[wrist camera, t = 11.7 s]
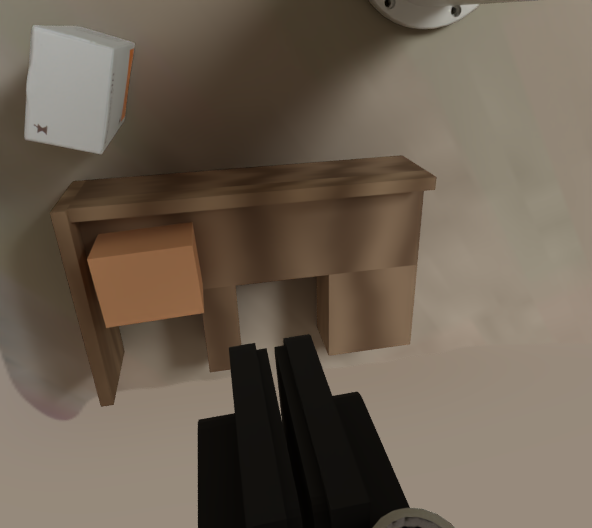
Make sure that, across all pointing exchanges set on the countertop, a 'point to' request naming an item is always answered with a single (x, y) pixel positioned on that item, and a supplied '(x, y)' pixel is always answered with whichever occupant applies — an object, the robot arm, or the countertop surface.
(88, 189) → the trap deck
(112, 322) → the block
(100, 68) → the skincare box
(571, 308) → the countertop surface
